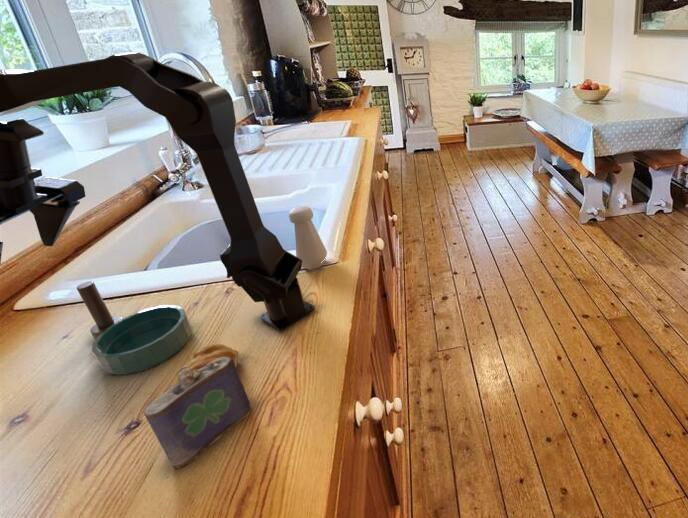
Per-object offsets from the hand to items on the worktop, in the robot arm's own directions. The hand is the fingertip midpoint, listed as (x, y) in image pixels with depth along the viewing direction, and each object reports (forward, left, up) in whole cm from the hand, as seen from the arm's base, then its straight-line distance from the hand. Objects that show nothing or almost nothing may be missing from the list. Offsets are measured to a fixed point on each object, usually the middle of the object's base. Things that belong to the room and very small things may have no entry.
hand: (22, 261), depth 61 cm
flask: (-39, -4, -16) cm, 42 cm away
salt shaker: (-16, -34, -16) cm, 41 cm away
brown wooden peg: (-4, -4, -15) cm, 17 cm away
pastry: (-30, -8, -16) cm, 35 cm away
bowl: (-14, -6, -15) cm, 22 cm away
